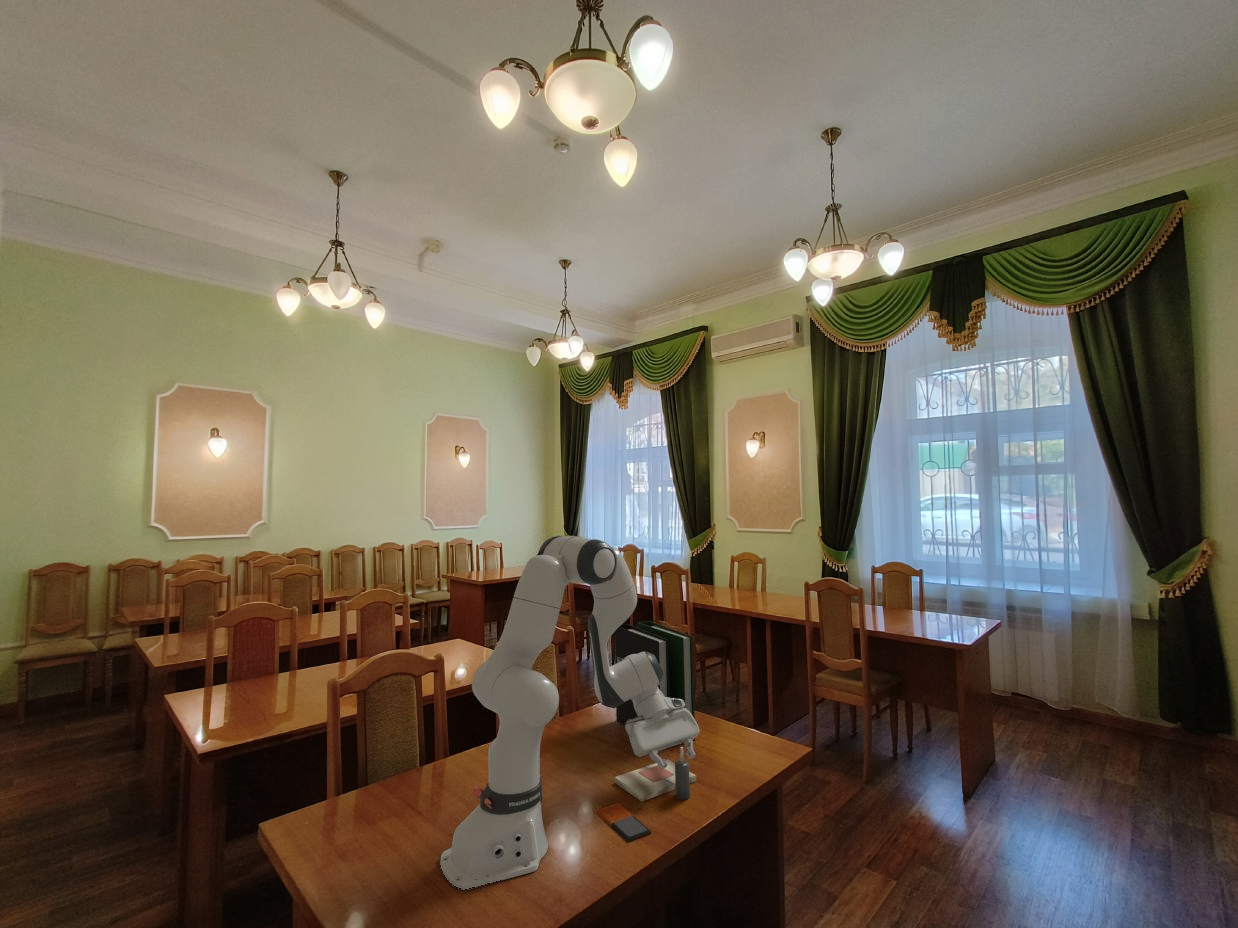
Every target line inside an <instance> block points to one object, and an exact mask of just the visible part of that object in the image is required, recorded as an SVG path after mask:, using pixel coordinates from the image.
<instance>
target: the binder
mask: <svg viewBox="0 0 1238 928" xmlns="http://www.w3.org/2000/svg"><path fill="white" fill-rule="evenodd" d="M636 623H637V624H636V625H637V626H634V625H633V624H632V625H631V624H630V623H623V624H622V625H620V626H619V627H618V628H617V629H616V630H615V631H614V652H615V653H614V656H615V657H614V658H615V660H614V662H615V664H617V663H619V662H621V661H622V660H623V659H624V658H625V657H627V656H629V655H631V654H638V653H641V652H644V651H646V652H649V653H651V654H653V655H655V657H656V659H657V661H658V663H659V665H660V667H661V668H662V670H663V674H664V675H663V678H662V680H661V683H660V685H658V688H659V690H660V691H661V692H662V693H663V695H664V697H668V698H674V699H682V700H683V701H684V703H685V707H684V708H686V709H687V710H689V711H690V713H691V714H692V716H693V717H694V719H695V720H696V718H695V687H694V686H695V685H694V683H695V681H694V680H695V678H694V677H695V675H694V650H693V649H694V648H693V647H694V645H693V635H689V634H687V633H685V632H682V631H680V630H679V631H678V630H676V629H673V628H670V627H668V626H665V625H662V624H660V623H657V622H654V621H651V620H648V621H647V620H646V621H638V622H636ZM615 664H614V665H615ZM615 709H616V710H615V711H616V713H615V715H616V720H615V721H616V722H617V723H619V724H621V725H622V726H624V727H625V724H626V722H627V721H628V720H629V719H634V718H636V717H638V715H637V713H636V711H635V709H634V704H633V701H632V700H631V699H630V700H628V701H625V703H623V704H621V705H620V706H618V707H616V708H615ZM694 740H695V741H696V738H695V739H694ZM694 740H693V741H694Z"/></svg>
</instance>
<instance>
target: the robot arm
mask: <svg viewBox="0 0 1238 928" xmlns="http://www.w3.org/2000/svg"><path fill="white" fill-rule="evenodd" d="M537 552H538V553H537V554H536V555H535V556H533V557H530V558H529V559H528V561H527V563H526V564H525V566H524V568H523V570H522V572H521V575H520V577H519V579H518V583H517V586H516V587H515V592H514V594H513V598H512V601H511V603H510V604H511V605H510V609H509V611H508V616H507V620H506V622H505V626H504V628H503V630H502V633H501V636H500V637H499V640H498V642H497V643H496V646H495V647H494V649H493V651H492V652H491V654H490V656H489V657H488V658H487V659H486V661H484V662H483V663H481V664H480V665H479V666H478V667H477V668H476V670H475V672H474V674H473V675H472V679H471V689H472V692H473V694H474V696H475V697H476V699H477V700H478V701H479V702H480V704H481V705H482V706H483V707H484V708H486V709H487V710H490V711H492V712H494V713H496V714H497V716H498V718H499V719H498V720H499V725H498V726H499V727H498V732H497V736H496V738H494V739H493V740H492V742H491V743H490V744H489V747H488V749H487V750H488V753H487V754H488V761H487V765H488V775H487V777H488V782H487V783H486V786H485V788H484V789H483V788H482V787H481V786H480V785H475V786H473V788H472V790H471V793H472V795H473V796H474V797H475V798H476V799H479V804H478V805H477V806H476V807H475V808H474V810H473V811H472V812H471V813H469V814H468V816H466V818H464V820H463V821H462V822H461V823H460V824H458V825H457V827H456V828H455V830H454V833H453V837H452V841H451V842H452V843H451V847H450V848H447V849H445V850H444V851H443V852H442V854H441V856H440V861H439V865H441V867H440V870H441V869H442V871H443V873H444V875H445V877H446V878H447V880H449V882H450V883H452V885H451V886H453V885H454V886H456V887H458V888H457V889H459V888H461V889H460V890H461V891H466V890H465V889H467V890H470V889H469V888H471V889H473V888H472V887H475V888H478V886H479V887H482V886H481V885H483V886H485V884H486V885H488V884H487V883H490V884H493V882H494V883H496V881H497V882H500V880H501V881H504V880H509V879H511V878H516V877H518V876H519V877H520V876H522V875H527V874H530V873H533V872H536V871H537V870H538V868H539V865H540V861H541V860H542V858H543V857H545V855H546V854H547V851H548V850H549V849H548V848H549V842H548V838H547V836H546V832H545V827H544V821H543V813H542V802H543V781H542V777H541V774H540V773H541V771H540V769H541V768H540V767H541V766H540V765H541V764H540V763H541V760H540V759H541V757H540V756H541V744H542V743H541V742H542V738H543V733H544V730H545V727H546V725H547V724H548V723H550V722H551V720H552V719H553V718H554V716H555V715H556V713H557V711H558V707H559V704H560V695H559V694H560V693H559V691H558V688H557V686H556V685H555V683H553V682H552V681H551V680H550V679H549V678H548V677H546V676H545V675H544V674H543V673H541V672H538V671H536V670H533V666H534V664H535V662H536V660H537V658H538V657H539V655H540V654H541V653H542V651H543V650H544V649H547V648H548V647H549V646H550V645H551V643H552V641H553V639H554V636H555V632H556V628H557V623H558V619H559V616H560V611H561V608H562V604H563V603H562V602H563V598H564V592H565V590H566V587H567V586H568V585H569V583H575V584H587V585H589V587H590V590H591V594H592V597H593V601H594V602H593V609H592V612H591V614H590V615H589V617H588V618H587V631H588V640H589V648H590V654H591V663H592V668H593V669H592V670H593V682H594V683H593V686H594V692H595V695H596V697H597V699H598V701H599V703H600V704H601V705H603V706H605V707H608V708H610V709H616V707H618V706H620V705H621V704H623V703H625V701H628V700H630V699H631V700H632V701H633V704H634V709H635V711H636V713H637V715H638V717H636V718H634V719H629V720H628V721H627V722H626V724H625V726H624V728H625V731H626V733H627V735H628V737H629V742H630V745H631V747H632V751H633V753H634V755H635V756H637V757H638V758H641V757H644V756H647V755H649V758H650V759H651V760H652V761H653V762H655V763H657V764H658V766H659V768H660V769H664V768H666V767H667V763H666V760H667V759H665V758H662V757H661V756H660V755H659V754H658V753H659V752H660V751H662V750H664V749H667V748H672V747H675V746H677V745H680V744H683V745H684V746H685V747H687V748H686V749H687V751H686V752H685V755H686V757H687V759H688V760H691V759H694V758H695V757H696V752H695V751H694V740H693V739H695V740H696V738H697V736H699V735H700V726H699V725H698V723H697V721H696V718H695V719H694V717H693V716H692V714H691V713H690V711H689V710H687V709H686V708H684V707H685V703H684V701H683V700H682V699H674V698H668V697H664V695H663V693H662V692H661V691H660V690H659V688H658V685H660V683H661V680H662V678H663V675H664V674H663V670H662V668H661V667H660V665H659V663H658V661H657V659H656V657H655V655H653V654H651V653H649V652H646V651H644V652H641V653H638V654H631V655H629V656H627V657H625V658H624V659H623V660H622V661H621V662H619V663H617V664H613V665H611V664H610V660H609V653H608V651H609V650H608V644H609V643H608V642H609V640H610V638H611V637H612V635H613V634H615V630H616V629H617V628H618V627H619V626H620V625H623V624H625V622H626V621H627V620H629V618H630V617H631V615H633V613H634V611H635V609H636V607H637V603H638V594H637V590H636V585H635V583H634V582H635V581H634V579H633V576H632V574H631V570H630V568H629V566H628V564H627V562H626V560H625V558H624V556H623V555H622V553H621V551H620V550H619V549H618V548H616V547H614V546H611V545H610V544H608V543H607V542H605V541H603V540H600V539H596V538H595V539H591V538H587V537H582V536H579V535H565V536H564V535H556V536H551V537H549V538H547V539H546V540H545V541H543V543H542V544H541V546H540V548H539V550H538V551H537ZM442 871H441V872H442ZM443 873H442V874H443ZM444 875H443V876H444ZM445 877H444V878H445ZM446 878H445V879H446ZM449 882H448V883H449ZM450 883H449V884H450ZM454 886H453V887H454ZM456 887H455V888H456Z"/></svg>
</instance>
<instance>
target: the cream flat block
mask: <svg viewBox="0 0 1238 928" xmlns="http://www.w3.org/2000/svg"><path fill="white" fill-rule="evenodd" d="M665 760H666V763H667V767H666V768H664V769H660V768H659V766H658V764H657V763H656V762H655V763H651V764H649V765H647V766H644V767H641V768H638V769H637V768H636V769H635V770H632V771H628V772H625V773H623V774H620V775H617V776H615V777H614V784H616V785H617V786H618V787H620V788H621V789H623V790H625V792H627V793H629V794H630V795H631V796H633V797H634V798H636V799H637V800H638V801H640V802H644V801H648V800H650V799H653V798H654V797H657V796H660V795H663V794H665V793H668V792H671V791H674V790H676V788H675V762H673V761H672V760H670V759H668V758H667V759H665ZM689 778H690V784H692V783H695V782H697V774H694V772H693V773H692V772H691V771H689Z"/></svg>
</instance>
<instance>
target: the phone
mask: <svg viewBox="0 0 1238 928" xmlns="http://www.w3.org/2000/svg"><path fill="white" fill-rule="evenodd" d="M596 814H597V815H598V816H599V817H600V818H601V819H602V820H603V821H604V822H605V823H606V824H608V826H610V827H611V828H612V830H614V832H615V833H616V834H618V835H619V836H620V837H621V838H622V839H623V840H624V841H625V842H627V843H632V842H634V841H635V842H636V841H638V840H640V839H643V838H645V837H648V836H651V835H652V830H651V829H649V827H647V826H646V825H645V824H644V823H642V822H641V821H640V820H639V819H638V818H637V817H635V816H634V815H633V814H632V813H631V812H630V811H628V810H627V809H626V808H625V807H623V806H622V804H620V803H618V802H617V803H614V804H611V805H608V806H604V807H601V808H599V809H597V810H596Z"/></svg>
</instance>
